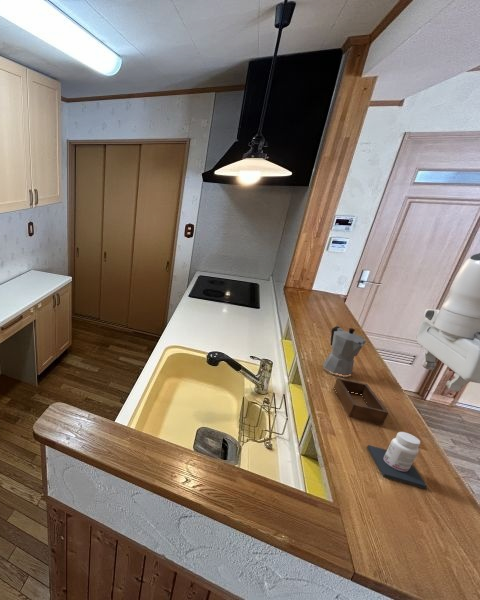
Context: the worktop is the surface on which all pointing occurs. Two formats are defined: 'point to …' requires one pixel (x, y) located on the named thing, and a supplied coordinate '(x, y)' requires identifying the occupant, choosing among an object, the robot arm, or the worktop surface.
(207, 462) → the worktop surface
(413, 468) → the rubber mat
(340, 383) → the storage crate
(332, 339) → the coffeepot
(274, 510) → the worktop surface
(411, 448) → the pill bottle
